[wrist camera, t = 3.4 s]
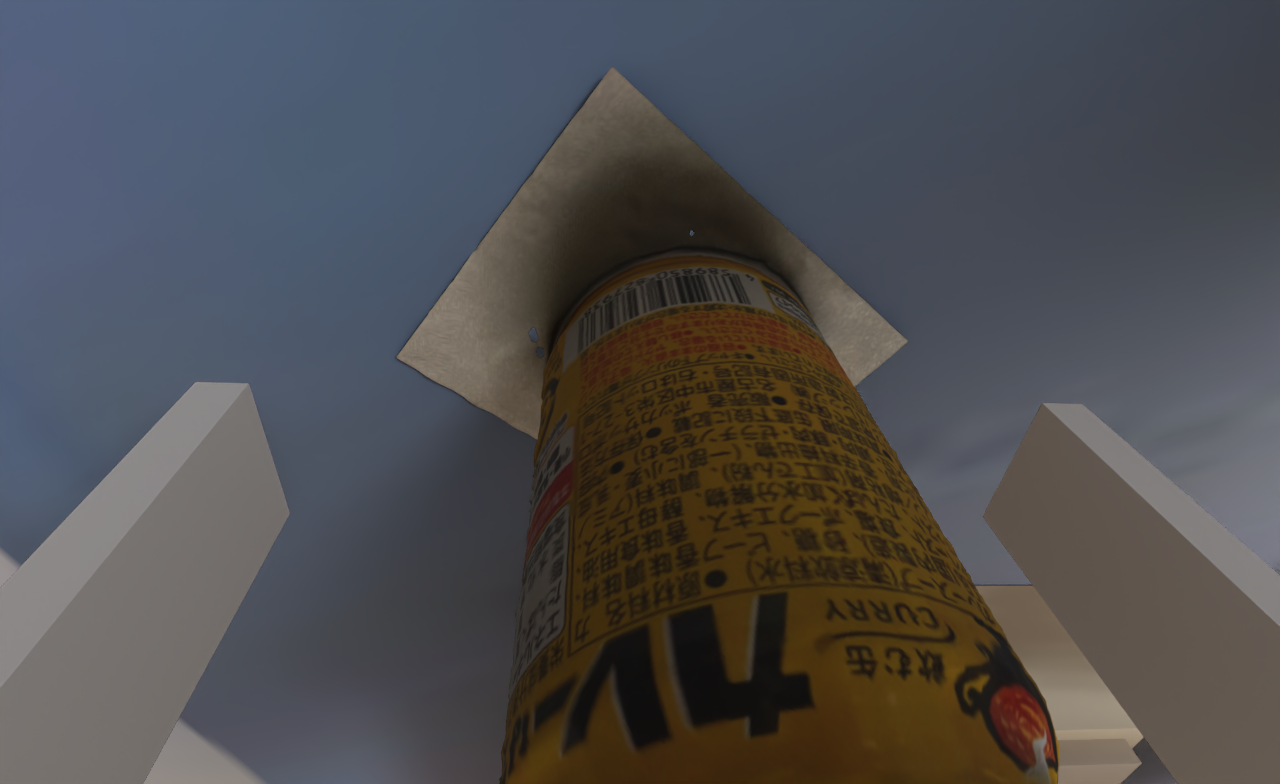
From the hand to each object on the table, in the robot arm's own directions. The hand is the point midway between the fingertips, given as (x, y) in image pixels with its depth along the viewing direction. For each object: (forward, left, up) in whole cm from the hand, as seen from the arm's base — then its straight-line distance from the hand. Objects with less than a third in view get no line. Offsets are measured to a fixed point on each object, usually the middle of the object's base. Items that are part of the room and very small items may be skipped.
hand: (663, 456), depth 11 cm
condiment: (0, 0, -4) cm, 4 cm away
